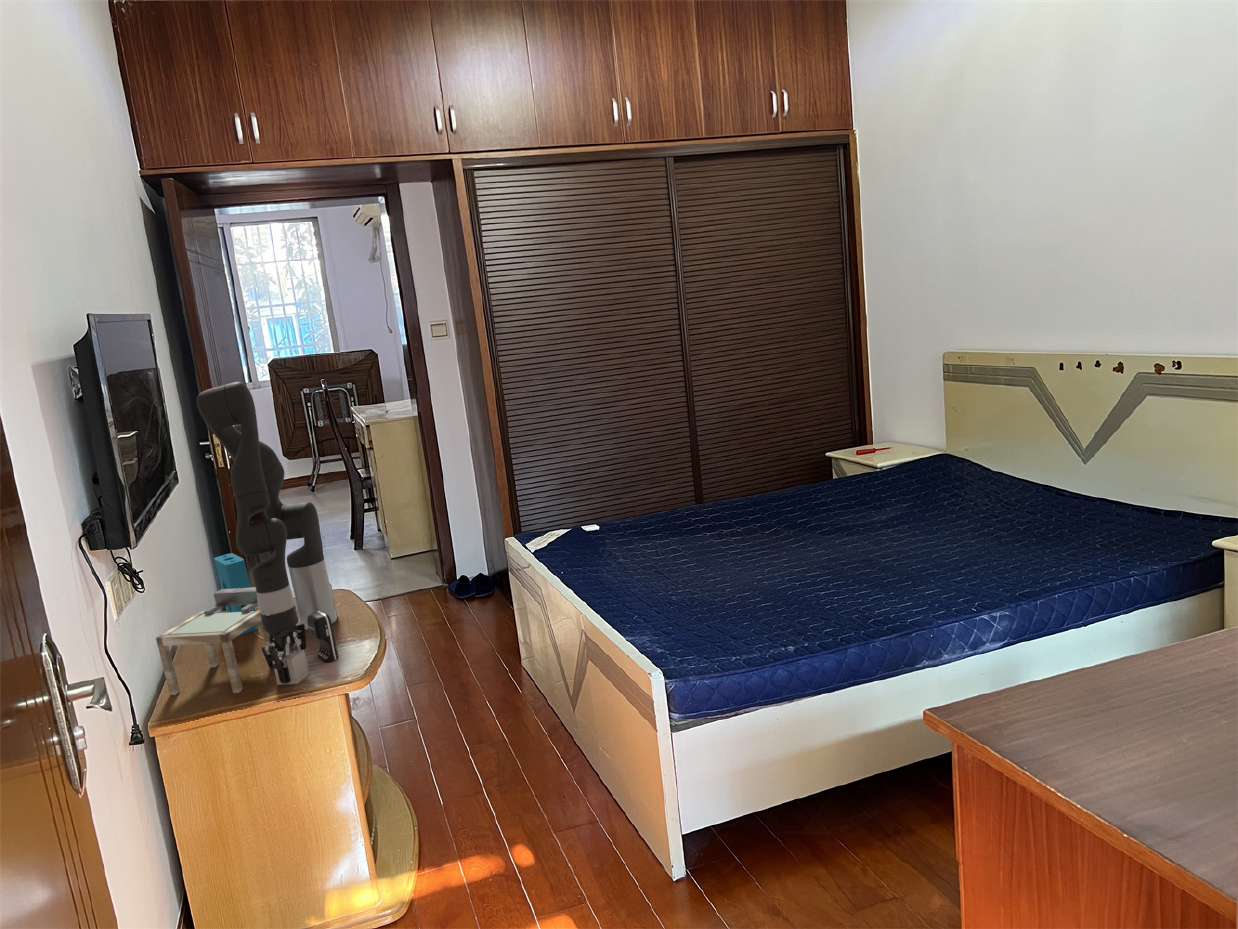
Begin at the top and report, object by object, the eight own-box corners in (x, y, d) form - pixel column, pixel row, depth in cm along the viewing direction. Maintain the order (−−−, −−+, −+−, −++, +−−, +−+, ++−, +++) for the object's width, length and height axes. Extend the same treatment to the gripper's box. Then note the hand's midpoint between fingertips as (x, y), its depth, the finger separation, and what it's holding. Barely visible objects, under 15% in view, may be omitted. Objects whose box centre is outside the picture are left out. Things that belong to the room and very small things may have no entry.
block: (261, 630, 243) (245, 559, 239) (242, 637, 240) (225, 565, 236) (247, 621, 252) (231, 552, 248) (229, 627, 249) (212, 558, 245)
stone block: (289, 674, 209) (284, 650, 208) (308, 674, 208) (303, 649, 207) (277, 684, 205) (271, 660, 203) (297, 684, 203) (291, 659, 202)
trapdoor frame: (214, 664, 222) (201, 611, 219) (278, 662, 218) (266, 607, 215) (170, 695, 207) (155, 638, 204) (239, 692, 203) (225, 634, 200)
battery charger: (313, 658, 217) (303, 613, 215) (328, 652, 220) (318, 608, 217) (324, 665, 212) (314, 619, 210) (339, 659, 214) (330, 614, 212)
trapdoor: (223, 606, 224) (219, 589, 224) (273, 603, 221) (269, 586, 220) (170, 638, 206) (165, 620, 205) (224, 635, 203) (219, 617, 202)
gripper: (280, 596, 211) (295, 664, 214) (243, 620, 197) (259, 692, 200) (309, 594, 209) (323, 662, 212) (273, 618, 195) (289, 691, 199)
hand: (292, 676), depth 206 cm, fingers closed on stone block, 5 cm apart
